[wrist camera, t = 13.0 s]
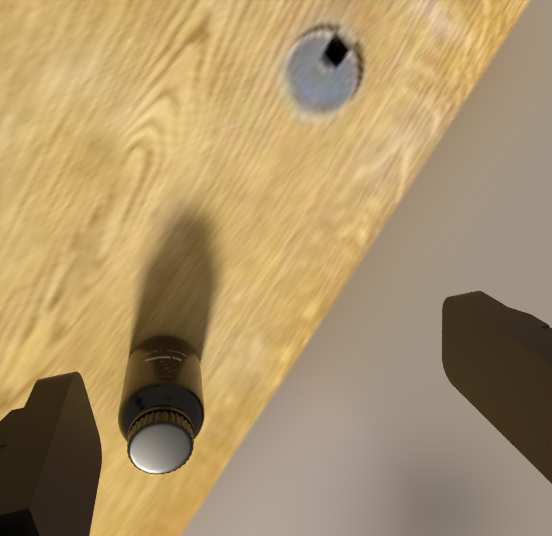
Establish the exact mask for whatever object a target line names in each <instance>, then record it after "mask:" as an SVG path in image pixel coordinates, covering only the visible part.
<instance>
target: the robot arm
mask: <svg viewBox="0 0 552 536" xmlns="http://www.w3.org/2000/svg"><path fill="white" fill-rule="evenodd" d="M442 361H443V367H444V370H445V373H446V375H447V377H448V379H449V381H450V382H451V384H452V385H453V386H454V387H456V389H457V390H459V392H460V393H461V394H462V395H463V396H464V397H465V398H466V399H467V400H468V401H469V402H470V403H471V404H472V405H473V406H474V407H476V409H478V411H479V412H480V413H481V414H482V415H483V416H484V417H485V418H486V419H487V420H488V421H489V422H490V423H491V424H492V425H493V426H494V427H495V428H496V429H497V430H498V431H499V432H501V434H502V435H503V436H505V438H507V439H508V440H509V441H510V443H511V444H512V445H514V446H515V447H516V448H517V449H518V450H519V451H520V452H521V453H522V454H523V455H524V456H525V457H526V458H527V459H528V460H529V461H530V462H531V463H532V464H533V465H534V466H535V467H536V468H537V469H538V470H539V471H540V472H541V473H542V474H543V475H544V476H545V477H546V478H547V479H548V480H549V481H550V482H551V483H552V328H550V327H549V325H548V324H546V323H544V322H543V321H541V320H539V319H538V318H536V317H534V316H533V315H531V314H528V313H525V312H521V311H518V310H515V309H512V308H509V307H507V306H505V305H503V304H502V303H500V302H499V301H497V300H495V299H494V298H492V297H490V296H489V295H487V294H485V293H484V292H482V291H475V292H470V293H465V294H461V295H456V296H451V297H448V298H446V299H445V301H444V303H443V309H442ZM101 464H102V450H101V442H100V437H99V433H98V429H97V426H96V422H95V419H94V416H93V412H92V409H91V405H90V402H89V399H88V395H87V392H86V388H85V385H84V382H83V379H82V377H81V375H80V374H79V373H78V372H72V373H67V374H62V375H58V376H53V377H48V378H43V379H39V380H37V381H36V383H35V385H34V387H33V389H32V392H31V394H30V396H29V398H28V400H27V402H26V405H25V407H24V408H20V409H15V410H12V411H10V412H9V413H8V414H7V415H6V416H5V417H4V418H3V419H2V420H1V421H0V536H89V534H90V528H91V522H92V517H93V511H94V505H95V499H96V494H97V488H98V482H99V477H100V471H101Z"/></svg>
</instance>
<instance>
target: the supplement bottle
mask: <svg viewBox="0 0 552 536" xmlns="http://www.w3.org/2000/svg"><path fill="white" fill-rule="evenodd" d="M203 422H204V400H203V389H202V378H201V368H200V362H199V358H198V355H197V353H196V352H195V350H194V349H193V348H192V347H191V346H190V345H189V344H188V343H187V342H185V341H183V340H181V339H179V338H176V337H171V336H159V337H154V338H151V339H149V340H147V341H145V342H143V343H141V344H140V345H139V346H138V347H137V348H136V349H135V350H134V351H133V353H132V354H131V356H130V358H129V361H128V364H127V369H126V374H125V380H124V385H123V391H122V396H121V402H120V407H119V414H118V424H119V428H120V431H121V433H122V435H123V437H124V438H125V440H126V441H127V442H128V443H127V447H128V448H127V452H128V454H129V455H128V457H129V458H130V459H131V462H132V463H133V464H134V466H135V467H137V468H138V469H139V470H142V471H144V472H148V473H150V474H165V473H170V472H172V471H175V470H177V469H178V468H181V466H182V465H184V464H185V463H186V461H187V460H189V457H190V456H191V455H192V450H193V444H194V439H195V438H196V436H197V435H198V434H199V432H200V430H201V428H202V425H203Z"/></svg>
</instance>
